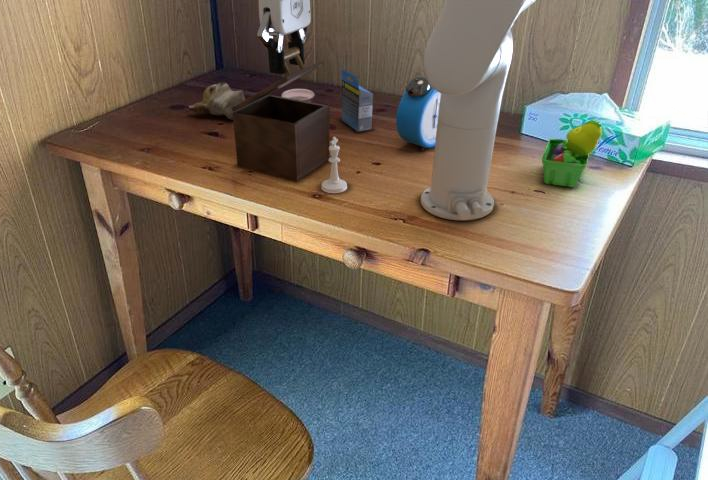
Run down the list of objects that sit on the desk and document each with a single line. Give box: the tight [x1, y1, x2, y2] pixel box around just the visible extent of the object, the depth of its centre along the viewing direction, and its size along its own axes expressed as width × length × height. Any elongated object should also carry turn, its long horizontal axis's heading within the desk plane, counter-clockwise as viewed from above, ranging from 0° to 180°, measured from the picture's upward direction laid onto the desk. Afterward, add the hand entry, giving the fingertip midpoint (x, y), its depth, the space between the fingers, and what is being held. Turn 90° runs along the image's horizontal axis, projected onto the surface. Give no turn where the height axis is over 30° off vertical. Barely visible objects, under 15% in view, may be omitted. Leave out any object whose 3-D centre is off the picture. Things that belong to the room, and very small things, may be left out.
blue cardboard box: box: [341, 67, 374, 133], centre depth 139 cm, size 9×4×12 cm, turn 22°
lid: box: [232, 46, 325, 112], centre depth 117 cm, size 16×12×5 cm
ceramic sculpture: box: [185, 80, 246, 120], centre depth 148 cm, size 11×9×15 cm
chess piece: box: [320, 136, 348, 194], centre depth 113 cm, size 5×5×10 cm
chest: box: [232, 94, 331, 182], centre depth 123 cm, size 15×12×11 cm
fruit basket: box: [541, 119, 603, 188], centre depth 113 cm, size 11×9×11 cm
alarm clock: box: [395, 75, 441, 152], centre depth 127 cm, size 13×6×15 cm, turn 133°
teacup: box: [281, 88, 315, 102], centre depth 144 cm, size 12×12×6 cm
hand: (287, 67), depth 114 cm, fingers closed on lid, 5 cm apart
